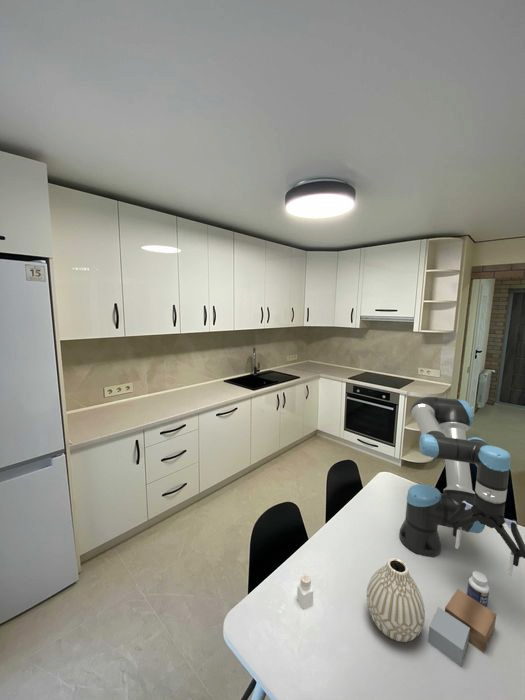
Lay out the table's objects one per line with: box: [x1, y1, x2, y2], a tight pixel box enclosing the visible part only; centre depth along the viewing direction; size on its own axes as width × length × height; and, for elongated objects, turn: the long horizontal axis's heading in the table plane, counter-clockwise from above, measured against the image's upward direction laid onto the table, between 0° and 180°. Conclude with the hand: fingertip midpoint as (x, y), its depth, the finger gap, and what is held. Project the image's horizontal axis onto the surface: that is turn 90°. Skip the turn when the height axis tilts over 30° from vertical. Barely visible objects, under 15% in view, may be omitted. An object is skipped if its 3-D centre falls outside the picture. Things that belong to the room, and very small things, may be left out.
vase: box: [366, 557, 426, 643], centre depth 86 cm, size 16×16×20 cm
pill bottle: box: [466, 570, 490, 608], centre depth 94 cm, size 5×5×10 cm
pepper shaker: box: [296, 573, 314, 610], centre depth 93 cm, size 4×4×10 cm
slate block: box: [427, 606, 470, 667], centre depth 82 cm, size 8×8×6 cm
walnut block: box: [444, 588, 497, 654], centre depth 87 cm, size 10×10×6 cm
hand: (482, 558), depth 92 cm, fingers open, 13 cm apart
